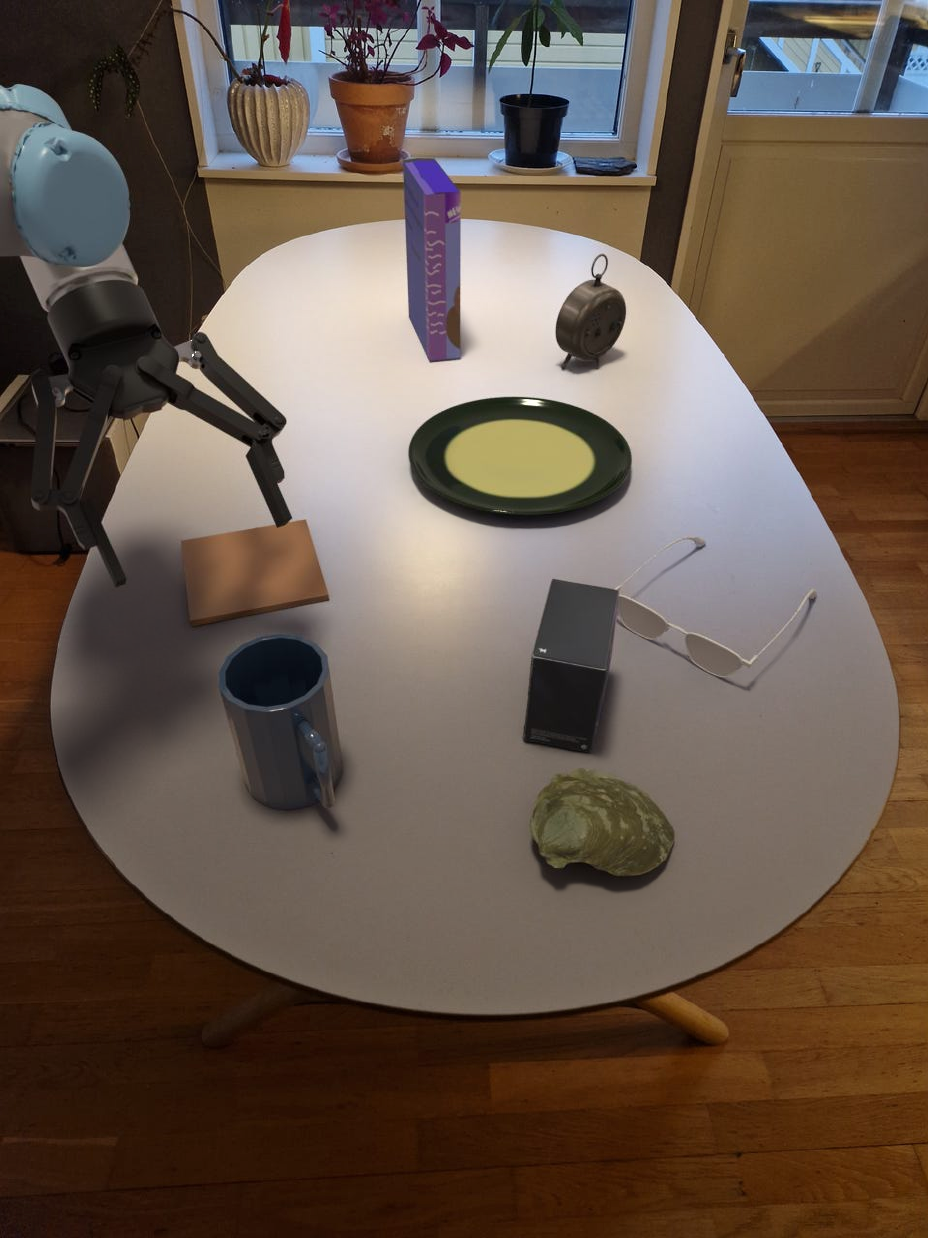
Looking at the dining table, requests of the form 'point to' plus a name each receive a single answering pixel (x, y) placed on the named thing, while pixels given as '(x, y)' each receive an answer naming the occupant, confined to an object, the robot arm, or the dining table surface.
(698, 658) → the eyeglasses
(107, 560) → the robot arm
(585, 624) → the small box
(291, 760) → the mug
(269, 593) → the cork mat
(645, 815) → the seashell
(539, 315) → the dining table surface
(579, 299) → the alarm clock
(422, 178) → the cereal box
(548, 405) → the plate
